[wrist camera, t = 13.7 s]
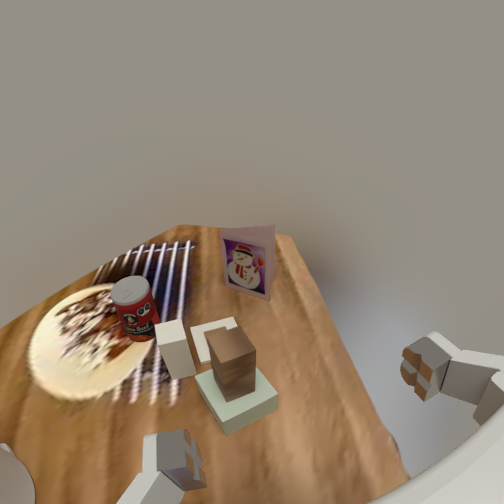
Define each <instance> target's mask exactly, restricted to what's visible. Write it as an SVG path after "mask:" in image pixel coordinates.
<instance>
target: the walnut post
mask: <svg viewBox="0 0 504 504" xmlns="http://www.w3.org/2000/svg"><path fill="white" fill-rule="evenodd" d="M207 341H208V347H209V353H210V359H211V364H212V370H213V375H214V380H215V382H216V384H217V386H218V388H219V389H220V391H221V393H222V395H223V397H224V399H225V401H226V403H227V402H230V401H232V400H235V399H237V398H240V397H242V396H245V395H247V394H250V393H252V392H255V379H256V349H255V348H254V346H253V345H252V343H251V342H250V340H249V339H248V337H247V336H246V334H245V333H244V331H243V330H242V328H241V327H240V326H237V327H234V328H231V329H228V330H226V331H223V332H220V333H217V334H214V335H211V336H208V337H207Z"/></svg>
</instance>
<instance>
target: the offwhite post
mask: <svg viewBox="0 0 504 504" xmlns="http://www.w3.org/2000/svg"><path fill="white" fill-rule="evenodd" d="M155 331H156V337H157V343H158V347H159V349H160V352H161V354H162V357H163V359H164V361H165V364H166V366H167V368H168V371H169V373H170V375H171V378H172V380H175V379H179V378H184V377H188V376H192V375H196V374H197V373H196V369H195V366H194V363H193V359H192V356H191V353H190V349H189V346H188V342H187V339H186V335H185V332H184V328H183V324H182V321H181V319H177V320H173V321H169V322H165V323H160V324H156V325H155Z"/></svg>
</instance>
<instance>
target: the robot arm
mask: <svg viewBox="0 0 504 504" xmlns="http://www.w3.org/2000/svg"><path fill="white" fill-rule="evenodd" d="M402 356H403V357H404V358H405V359H404V360H403V362H402V363H401V369H400V371H401V374H402V377H403V379H404V381H405V382H406V383H407V384H408V385H411V386H414V389H415V390H414V391H415V393H416V394H417V395H418V396H419V397H420V398H421V399H422V400H423V401H424V402H425V401H426V400H428V399H430V398H431V397H433V396H434V395H436V394H437V393H439V392H440V391H441V392H440V393H443V394H445V395H448V396H451V397H454V398H457V399H460V400H463V401H466V402H469V403H472V404H475V405H478V406H477V408H476V410H475V412H474V414H473V418H474V419H475V420H476V421H477V422H478V424H479V425H480V427H479V428H478V429H477V430H476V431H475V432H474V433H472V434H471V435H470V436H469V437H468V438H467V439H466V440H464V441H463V442H462V443H461V444H459V445H458V446H457V447H456V448H454V449H453V450H452V451H451V452H449V453H448V454H447V455H445V456H444V457H443V458H441V459H440V460H438V461H437V462H436V463H434V464H433V465H431V466H430V467H428V468H427V469H426V470H424V471H423V472H421V473H419V474H418V475H416V476H415V477H413V478H412V479H410V480H408V481H407V482H405V483H403V484H402V485H400V486H398V487H397V488H395V489H393V490H391V491H389V492H388V493H386V494H384V495H382V496H380V497H378V498H376V499H374V500H372V501H370V502H368V503H366V504H504V356H499V355H493V354H486V353H480V352H474V351H469V350H463V351H461V350H459V349H458V348H457V347H456V346H454V345H453V344H452V343H451V342H449V341H448V340H447V339H445V338H444V337H443V336H442V335H440V334H439V333H438V332H435V331H433V332H432V333H430V334H428V335H427V336H425V337H423V338H421V339H419V340H418V341H416V342H415V343H413V344H411V345H409V346H408V347H406V348H405V349H404V350H403V354H402ZM202 464H203V458H202V454H201V451H200V448H199V446H198V444H197V443H196V441H195V440H193V439H191V438H190V433H189V432H188V430H187V429H182V430H176V431H170V432H163V433H156V434H149V435H145V436H144V438H143V455H142V473H138V475H137V476H136V477H135V479H134V480H133V481H132V483H131V484H130V486H129V487H128V488H127V490H126V491H125V492H124V494H123V495H122V497H121V498H120V499H119V501H118V502H117V503H116V504H180V502H181V500H182V498H183V496H184V493H185V492H184V491H189V490H195V489H201V488H206V487H207V484H206V478H205V472H204V471H203V470H202V469H201V468H200V467H201V465H202ZM0 504H35V489H34V484H33V481H32V478H31V476H30V474H29V472H28V470H27V469H26V467H25V466H24V465H23V464H22V463H21V462H20V461H19V460H18V459H17V458H16V457H15V455H14V453H13V451H12V449H11V447H10V446H9V445H7V444H5V443H2V444H0Z"/></svg>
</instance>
